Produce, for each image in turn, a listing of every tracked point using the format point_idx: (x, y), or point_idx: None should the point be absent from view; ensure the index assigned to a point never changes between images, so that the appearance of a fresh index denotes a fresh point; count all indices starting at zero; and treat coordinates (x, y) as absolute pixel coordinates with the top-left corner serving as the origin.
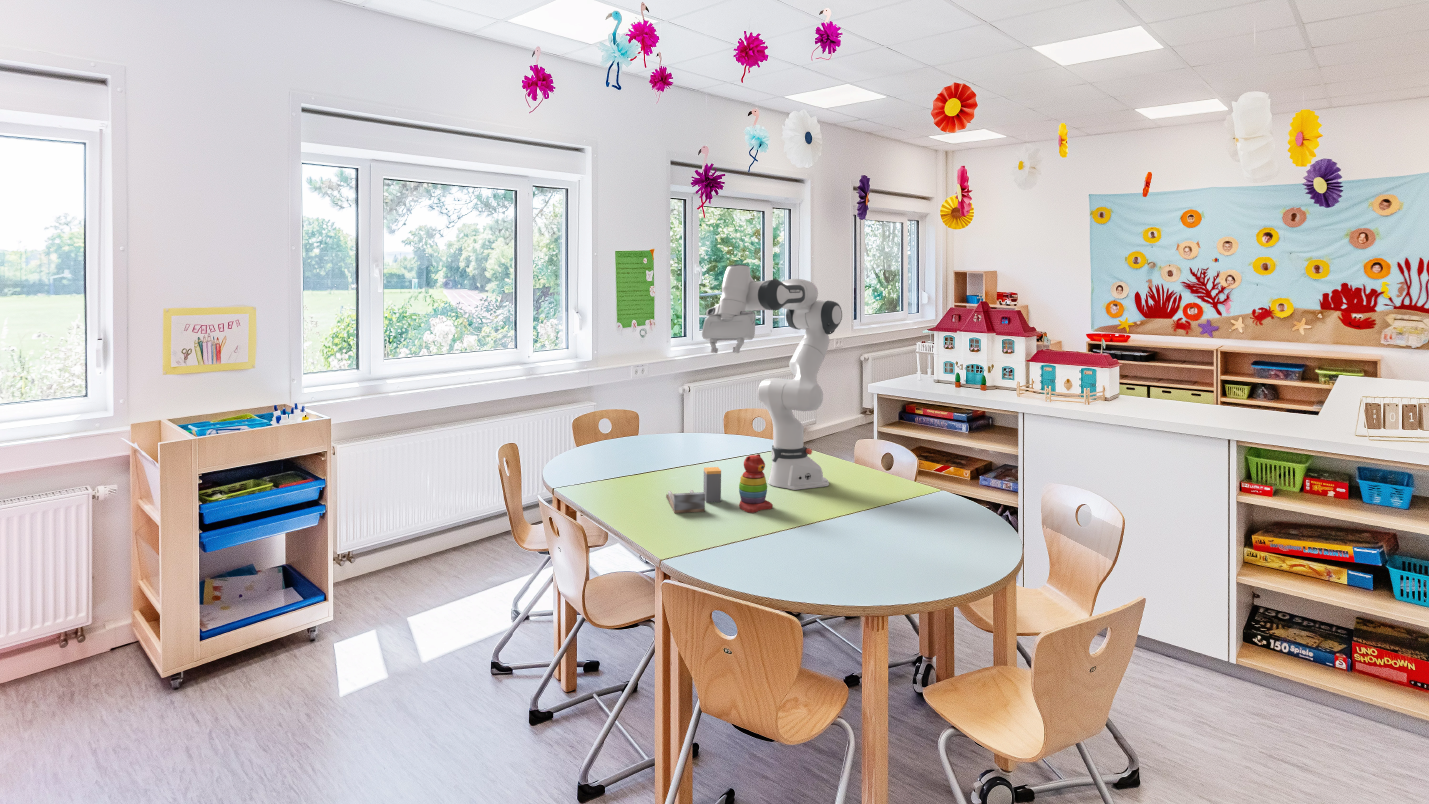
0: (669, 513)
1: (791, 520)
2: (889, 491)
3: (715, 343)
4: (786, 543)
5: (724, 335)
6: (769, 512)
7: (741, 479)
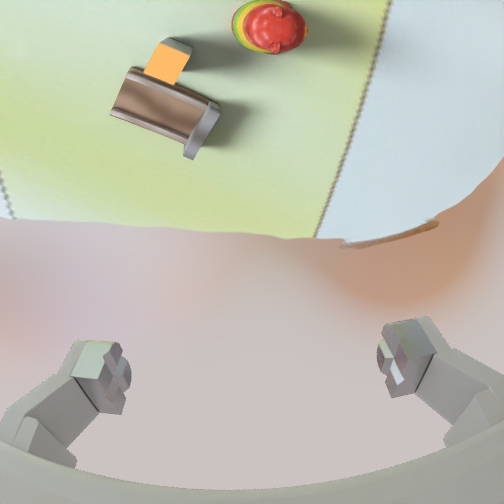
0: None
1: (353, 39)
2: None
3: (35, 422)
4: (393, 121)
5: None
6: None
7: (255, 49)
